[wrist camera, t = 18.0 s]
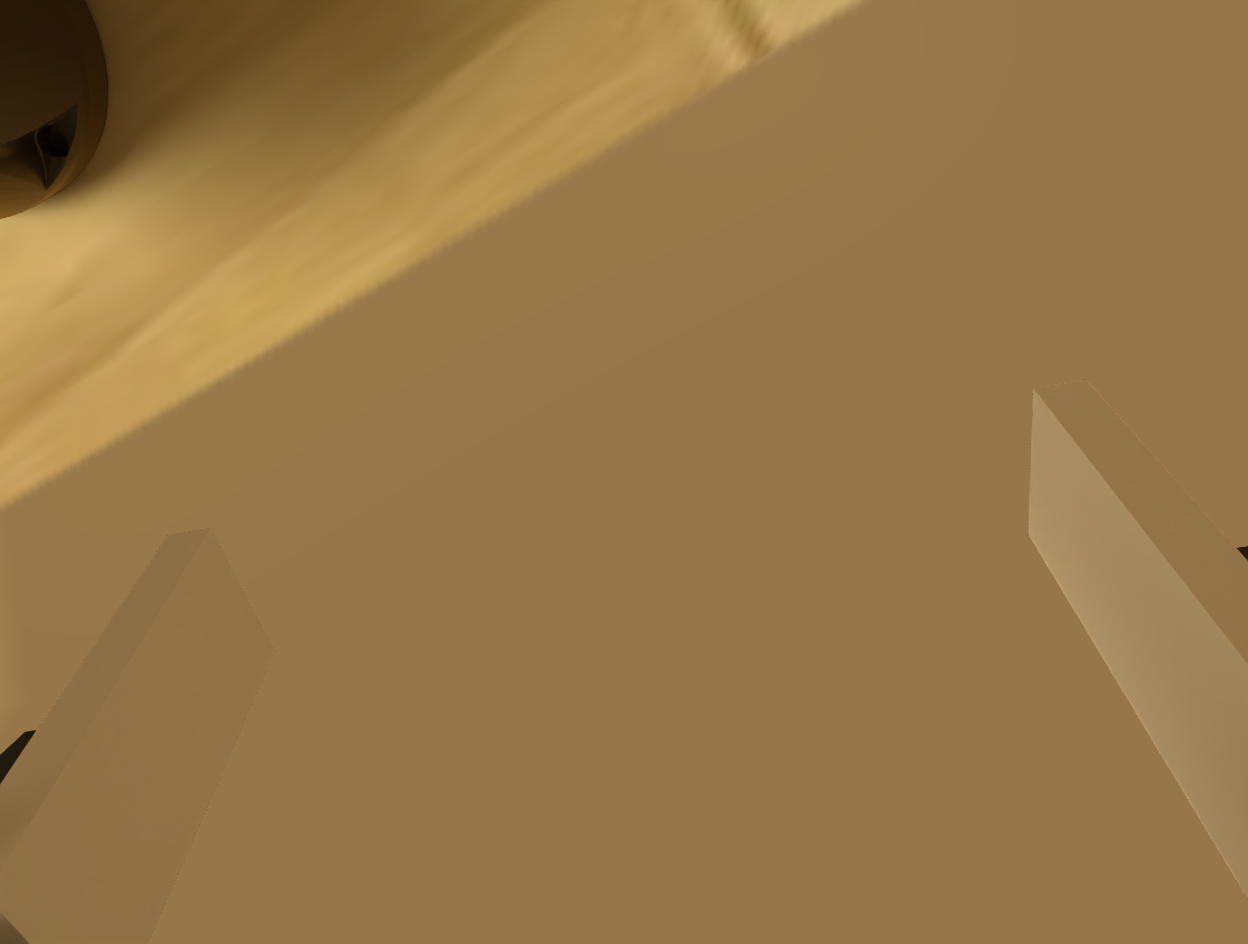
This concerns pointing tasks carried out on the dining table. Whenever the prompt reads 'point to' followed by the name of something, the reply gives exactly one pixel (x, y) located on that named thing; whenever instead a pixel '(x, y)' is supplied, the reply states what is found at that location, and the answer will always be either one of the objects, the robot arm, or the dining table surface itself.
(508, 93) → the dining table surface
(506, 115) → the dining table surface
